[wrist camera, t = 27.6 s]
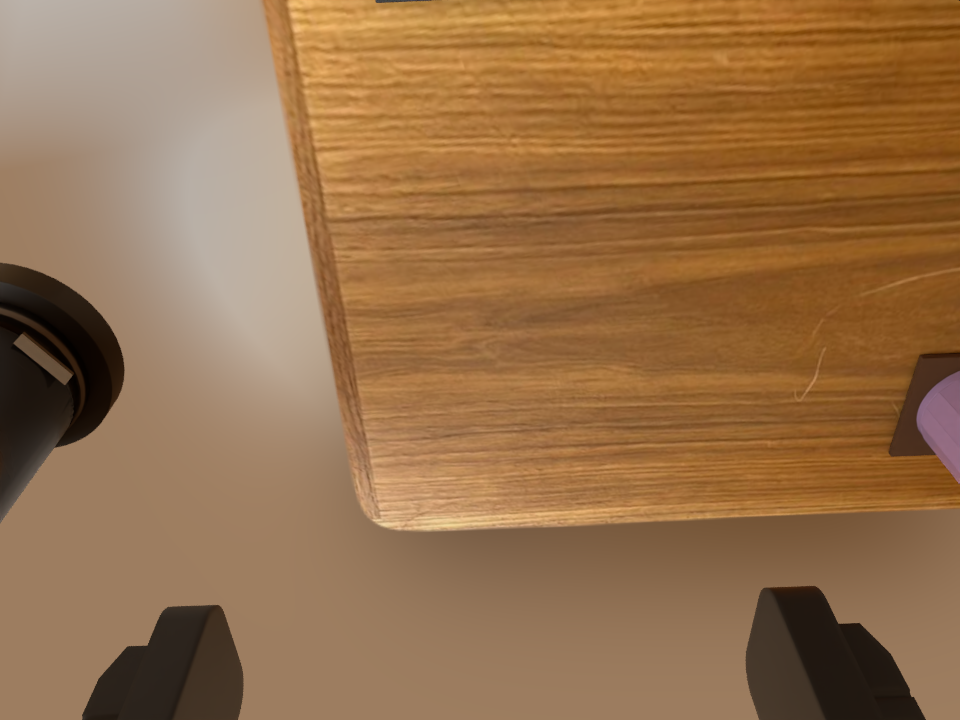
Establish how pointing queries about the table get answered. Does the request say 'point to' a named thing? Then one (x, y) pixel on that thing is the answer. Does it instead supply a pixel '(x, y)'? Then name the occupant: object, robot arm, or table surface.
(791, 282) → the table surface
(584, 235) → the table surface
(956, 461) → the lavender faceted cup
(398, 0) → the front mat
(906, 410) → the back mat
